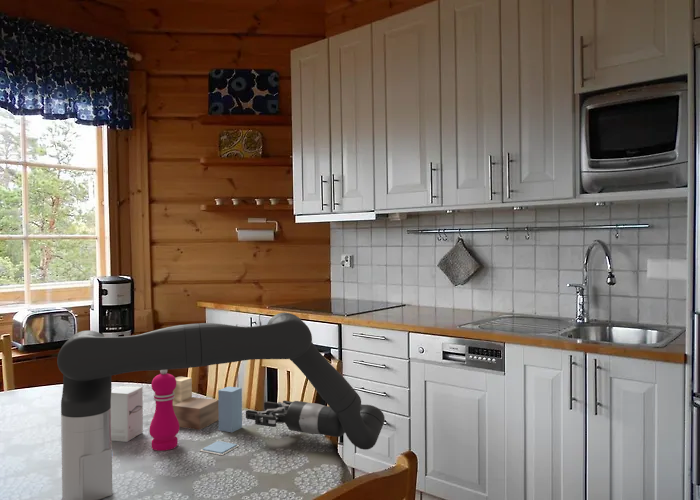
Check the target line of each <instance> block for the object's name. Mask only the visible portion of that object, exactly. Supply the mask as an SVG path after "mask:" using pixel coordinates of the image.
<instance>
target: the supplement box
mask: <svg viewBox="0 0 700 500" xmlns="http://www.w3.org/2000/svg"><path fill="white" fill-rule="evenodd" d="M143 402H144V401H143V386H142V387H141V386H126V385H125V386H123V385H122V386H121V385H120V386H116V387H114V388H111V442H124V443H128V442H130V440H132V439H134V438H136V437H137V436H139V435H141V434H143V432H144V429H143V427H144V425H143V424H144V413H143V412H144V411H143V409H144V406H143V405H144V403H143Z"/></svg>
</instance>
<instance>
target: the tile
mask: <svg viewBox="0 0 700 500" xmlns="http://www.w3.org/2000/svg"><path fill="white" fill-rule="evenodd" d="M238 447H240V445H239V444H237V443H231V442H228V441H227V442H225V441H220V440H217V441H215V442H213V443H211V444H209V445H207V446H205V447H203V448H201V449H200V450H199V452H204V453H208V454H209V453H210V454H214V455H219V456H223V455H225V454H227V453H229V452H231V451H233V450H236V449H237V448H238Z"/></svg>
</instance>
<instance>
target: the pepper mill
mask: <svg viewBox="0 0 700 500" xmlns="http://www.w3.org/2000/svg"><path fill="white" fill-rule="evenodd" d="M175 378H176V377H175V376H174V375H173V374H171V373H168V370H159V374H157V375H156V376H154V377H153V379H152V381H151V383H150V384H151V385H150V386H151V389H152V391H153V392H154V394H153V400H154V402H155V409H154V410H155V411H154V413H153V417H152V419H151V421H150V425H149V435H150V436H151V437H152V440H151V449H152V450H154V451H158V452H161V451H163V452H164V451H169V450H174V449H175V448H177V447H178V445H179V444H178V443H179V442H178V437H177V435H178V433H179V432H180V427H179V422H178V419H177V417H176V415H175V413H174V409H173V399H174V397H175V396H174V394H175V393H174V392H173V390H174V389H175V388H176V379H175Z"/></svg>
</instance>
